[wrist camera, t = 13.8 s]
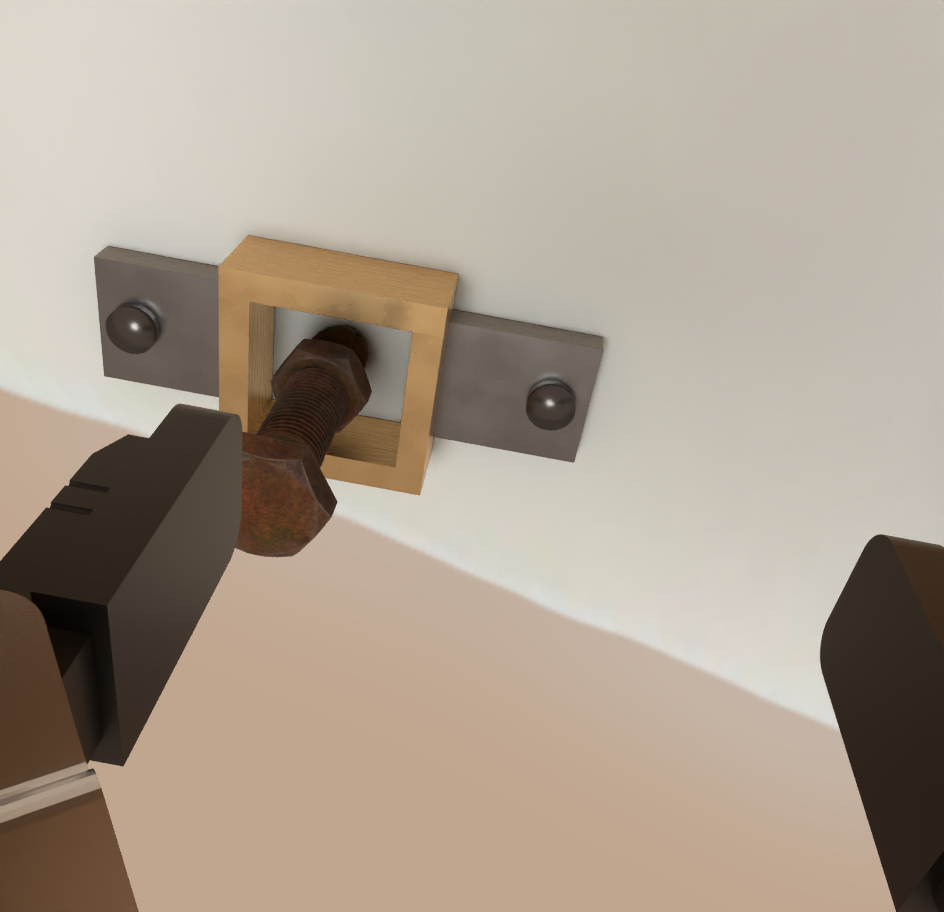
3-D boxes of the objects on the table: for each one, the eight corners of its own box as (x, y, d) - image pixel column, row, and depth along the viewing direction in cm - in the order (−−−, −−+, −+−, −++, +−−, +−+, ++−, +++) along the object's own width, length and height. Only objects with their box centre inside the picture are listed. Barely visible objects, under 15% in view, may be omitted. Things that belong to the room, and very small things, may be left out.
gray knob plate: (602, 337, 47) (603, 357, 45) (574, 447, 51) (573, 470, 49) (434, 306, 47) (427, 325, 45) (418, 418, 51) (412, 440, 49)
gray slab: (257, 273, 47) (242, 290, 45) (254, 388, 51) (241, 409, 49) (107, 246, 47) (86, 262, 45) (116, 363, 51) (97, 382, 49)
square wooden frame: (458, 273, 46) (447, 308, 42) (431, 451, 52) (419, 495, 48) (248, 235, 46) (218, 266, 42) (245, 416, 52) (219, 458, 48)
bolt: (402, 381, 49) (343, 550, 37) (322, 403, 51) (237, 574, 38) (362, 287, 47) (282, 435, 34) (277, 313, 48) (170, 465, 35)
